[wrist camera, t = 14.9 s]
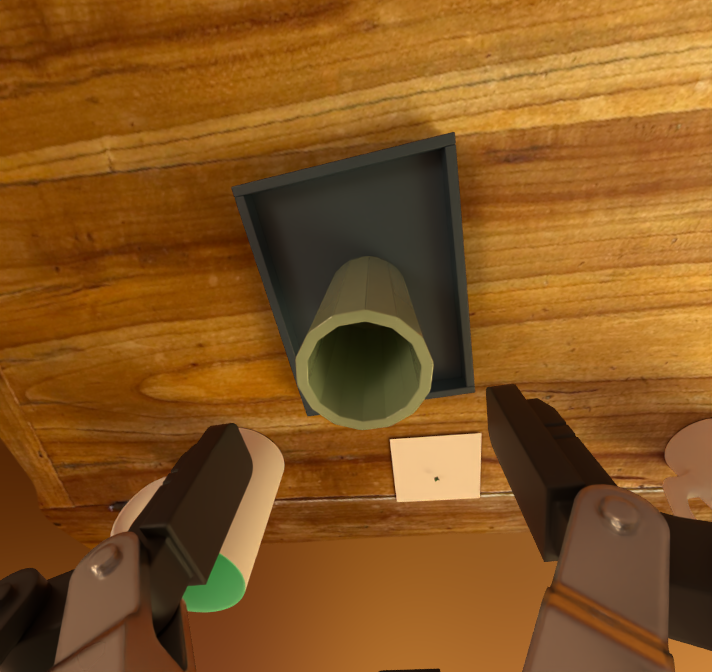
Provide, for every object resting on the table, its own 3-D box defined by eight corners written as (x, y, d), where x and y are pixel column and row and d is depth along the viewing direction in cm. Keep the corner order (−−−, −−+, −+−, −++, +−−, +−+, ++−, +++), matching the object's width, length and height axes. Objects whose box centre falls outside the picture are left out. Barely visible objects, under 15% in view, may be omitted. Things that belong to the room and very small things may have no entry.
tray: (243, 187, 21) (230, 187, 20) (447, 136, 20) (455, 131, 18) (311, 401, 28) (307, 416, 26) (468, 377, 26) (475, 392, 25)
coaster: (481, 432, 28) (484, 439, 28) (479, 497, 32) (482, 505, 31) (389, 439, 29) (390, 445, 29) (397, 502, 33) (397, 509, 32)
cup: (319, 265, 23) (277, 325, 13) (401, 248, 22) (424, 298, 12) (338, 337, 25) (314, 437, 15) (413, 324, 24) (441, 420, 14)
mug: (180, 495, 34) (106, 614, 24) (149, 434, 31) (49, 544, 21) (292, 488, 33) (259, 610, 23) (272, 424, 29) (224, 535, 20)
